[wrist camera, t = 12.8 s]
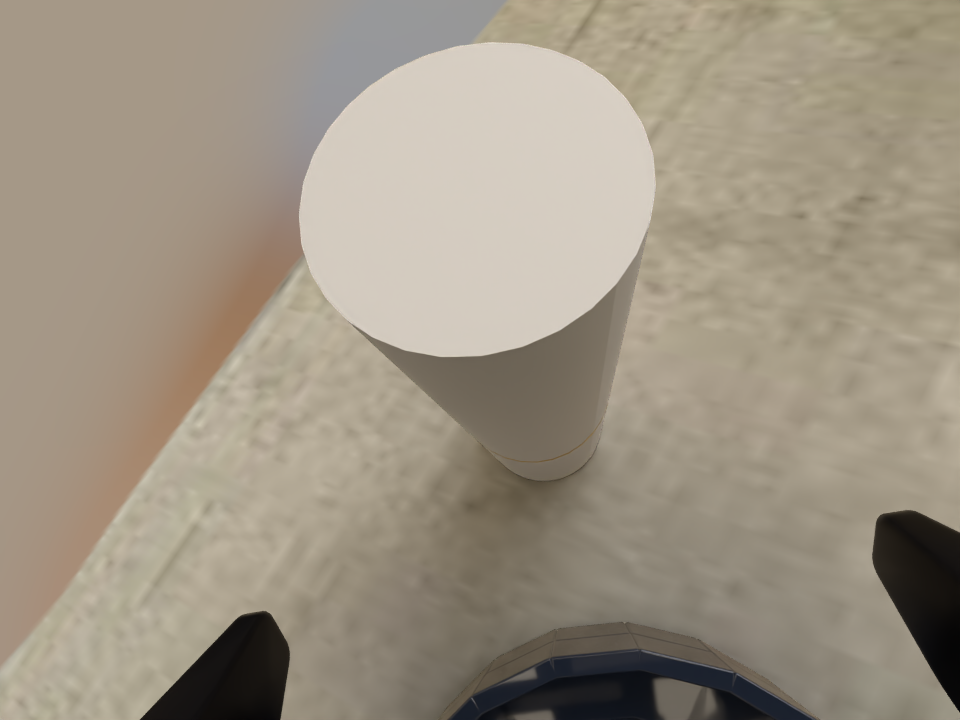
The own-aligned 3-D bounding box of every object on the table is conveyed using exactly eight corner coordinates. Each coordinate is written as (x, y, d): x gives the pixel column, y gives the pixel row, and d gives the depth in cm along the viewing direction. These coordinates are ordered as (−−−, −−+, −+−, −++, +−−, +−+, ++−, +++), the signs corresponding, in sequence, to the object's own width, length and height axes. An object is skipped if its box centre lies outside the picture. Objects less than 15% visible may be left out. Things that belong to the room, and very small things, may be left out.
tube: (625, 414, 20) (734, 140, 6) (552, 506, 20) (488, 438, 6) (534, 346, 22) (452, -5, 8) (463, 431, 21) (232, 225, 7)
